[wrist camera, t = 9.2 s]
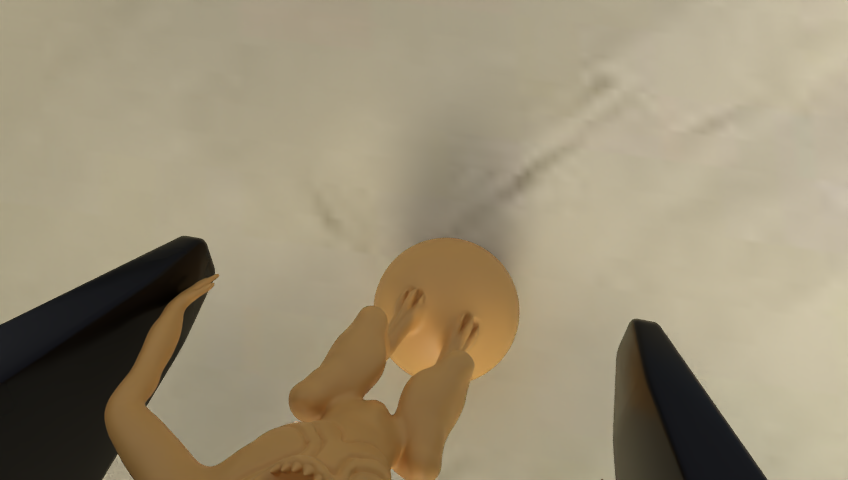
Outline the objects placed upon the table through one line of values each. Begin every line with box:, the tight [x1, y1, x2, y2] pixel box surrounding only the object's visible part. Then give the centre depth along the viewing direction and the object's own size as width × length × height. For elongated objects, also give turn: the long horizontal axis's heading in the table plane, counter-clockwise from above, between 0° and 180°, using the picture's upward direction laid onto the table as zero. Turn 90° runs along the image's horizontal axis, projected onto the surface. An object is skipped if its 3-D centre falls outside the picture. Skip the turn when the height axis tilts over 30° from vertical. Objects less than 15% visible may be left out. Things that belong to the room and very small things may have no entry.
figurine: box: [104, 238, 603, 480], centre depth 10 cm, size 8×6×12 cm
